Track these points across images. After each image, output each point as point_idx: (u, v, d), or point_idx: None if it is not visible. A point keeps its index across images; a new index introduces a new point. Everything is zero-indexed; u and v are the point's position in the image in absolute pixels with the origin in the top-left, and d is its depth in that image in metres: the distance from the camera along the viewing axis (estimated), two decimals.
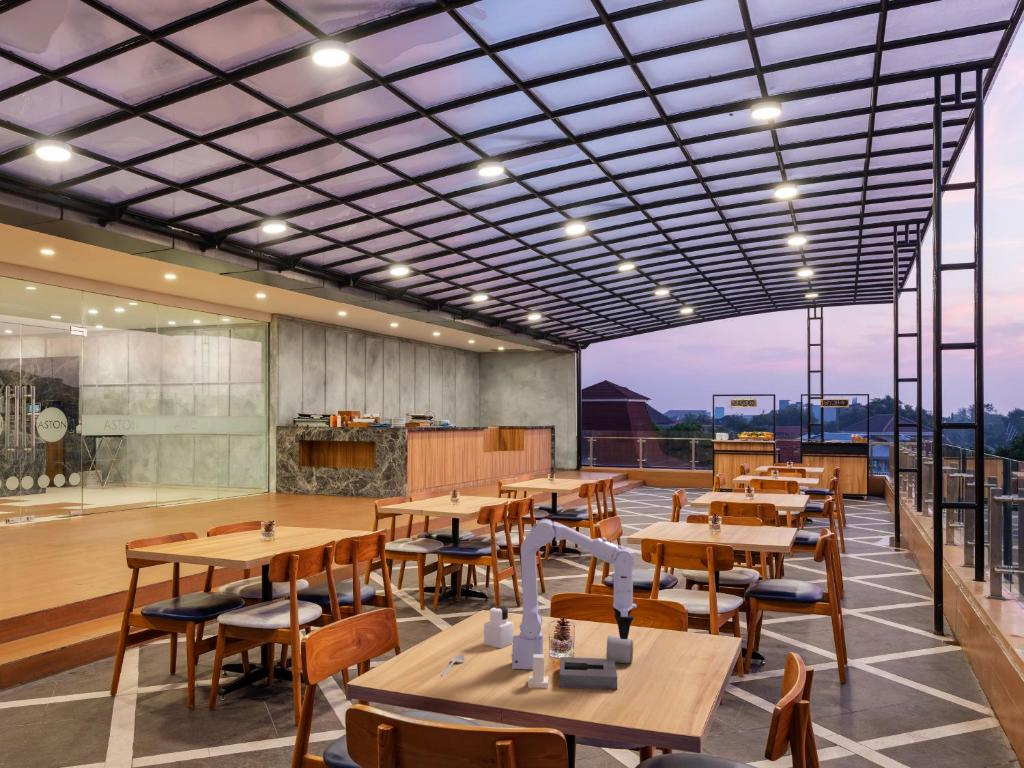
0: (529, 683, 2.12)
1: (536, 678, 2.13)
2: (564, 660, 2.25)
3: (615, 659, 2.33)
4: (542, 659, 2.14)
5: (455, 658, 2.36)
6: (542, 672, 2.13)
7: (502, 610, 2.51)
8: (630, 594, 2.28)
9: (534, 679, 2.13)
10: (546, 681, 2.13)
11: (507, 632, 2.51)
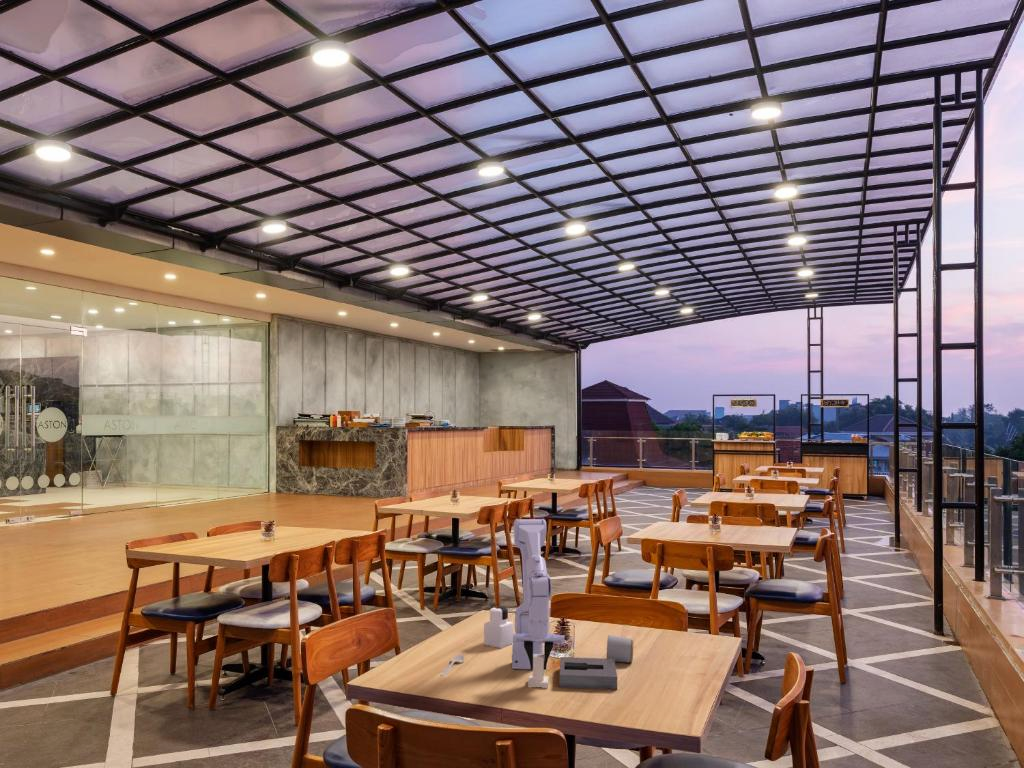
0: (529, 683, 2.12)
1: (536, 678, 2.13)
2: (564, 660, 2.25)
3: (615, 658, 2.33)
4: (542, 659, 2.14)
5: (455, 658, 2.36)
6: (542, 672, 2.13)
7: (502, 610, 2.51)
8: (531, 624, 2.14)
9: (534, 679, 2.13)
10: (546, 681, 2.13)
11: (507, 632, 2.51)
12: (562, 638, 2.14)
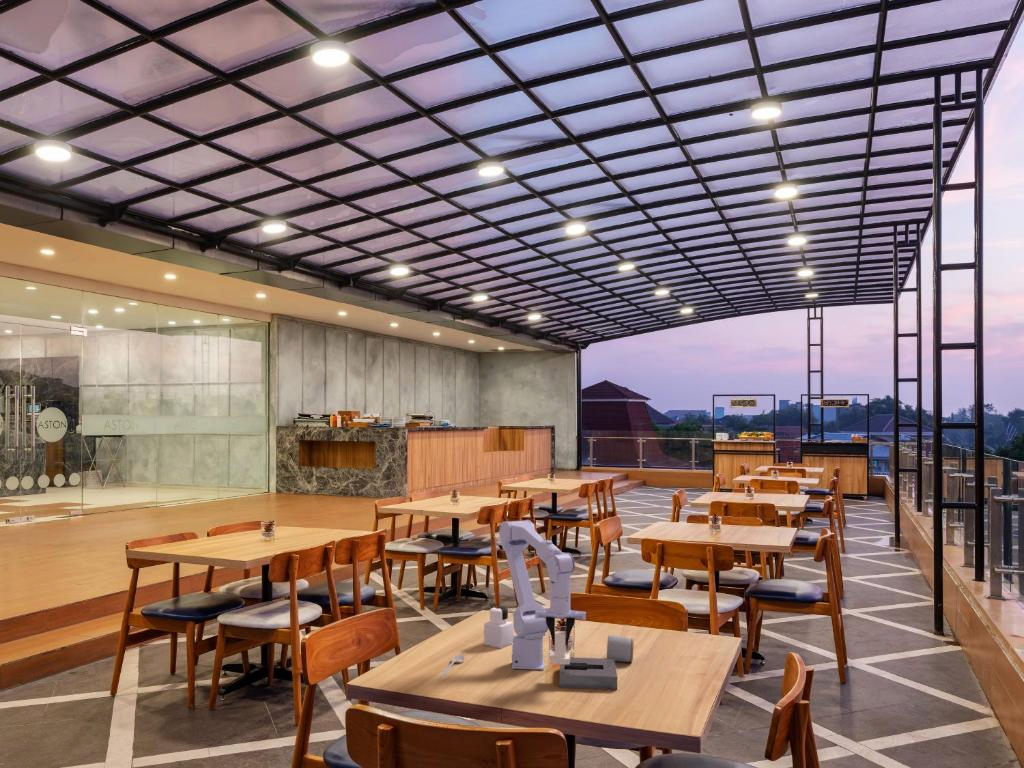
0: (551, 659, 2.15)
1: (558, 654, 2.16)
2: None
3: (615, 658, 2.34)
4: (563, 636, 2.17)
5: (455, 658, 2.36)
6: (564, 648, 2.16)
7: (502, 610, 2.51)
8: (553, 601, 2.17)
9: (556, 655, 2.17)
10: (568, 657, 2.16)
11: (507, 632, 2.51)
12: (583, 614, 2.17)
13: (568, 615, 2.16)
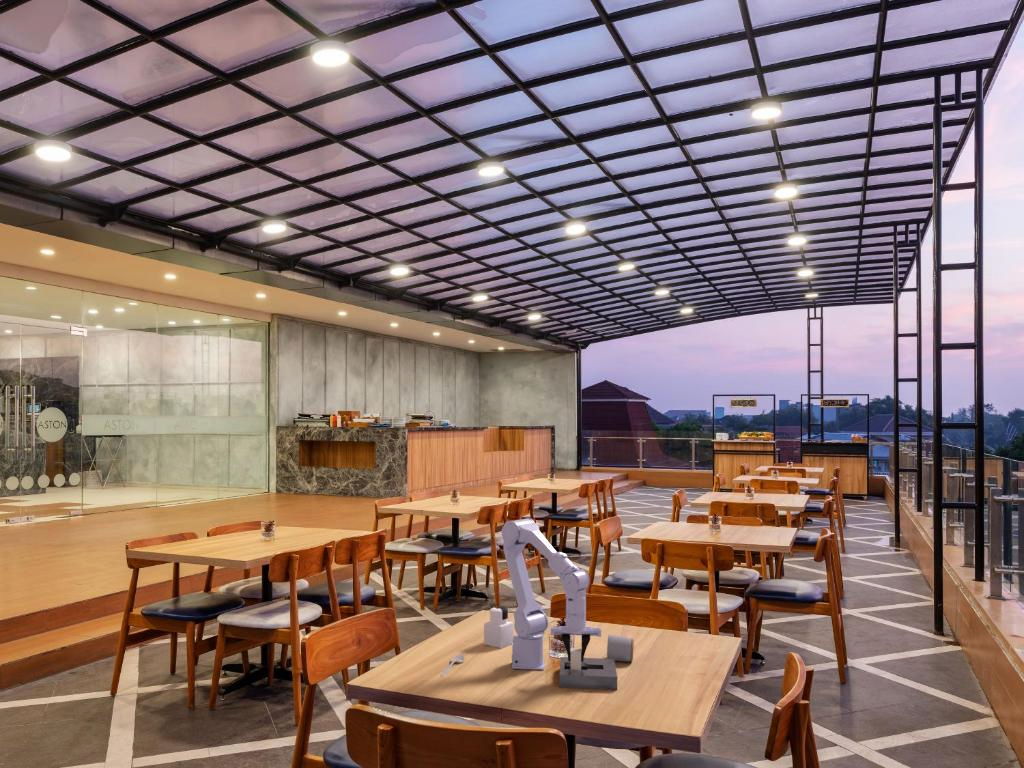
0: None
1: None
2: (564, 660, 2.25)
3: (616, 658, 2.34)
4: (579, 653, 2.19)
5: (455, 658, 2.36)
6: (579, 665, 2.18)
7: (502, 610, 2.51)
8: (569, 617, 2.19)
9: None
10: None
11: (507, 632, 2.51)
12: (599, 631, 2.19)
13: (584, 632, 2.18)
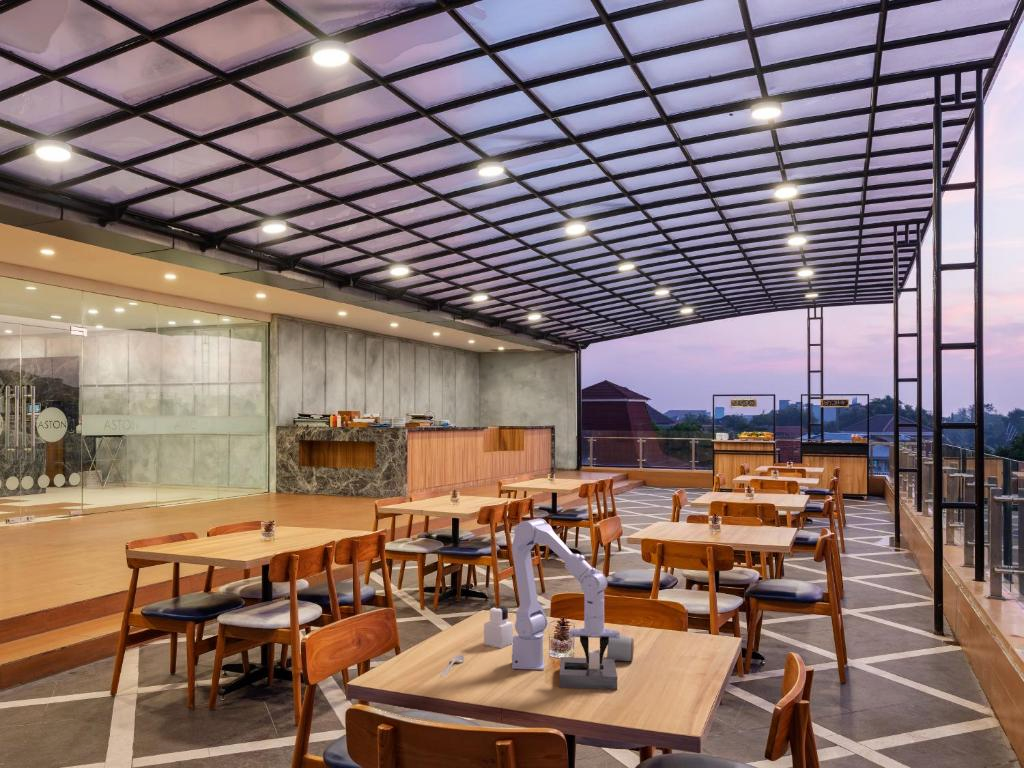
0: None
1: None
2: (564, 660, 2.25)
3: (616, 657, 2.35)
4: (598, 654, 2.18)
5: (455, 658, 2.36)
6: (598, 667, 2.18)
7: (502, 610, 2.51)
8: (587, 620, 2.18)
9: None
10: None
11: (507, 632, 2.51)
12: (617, 633, 2.19)
13: (602, 634, 2.18)
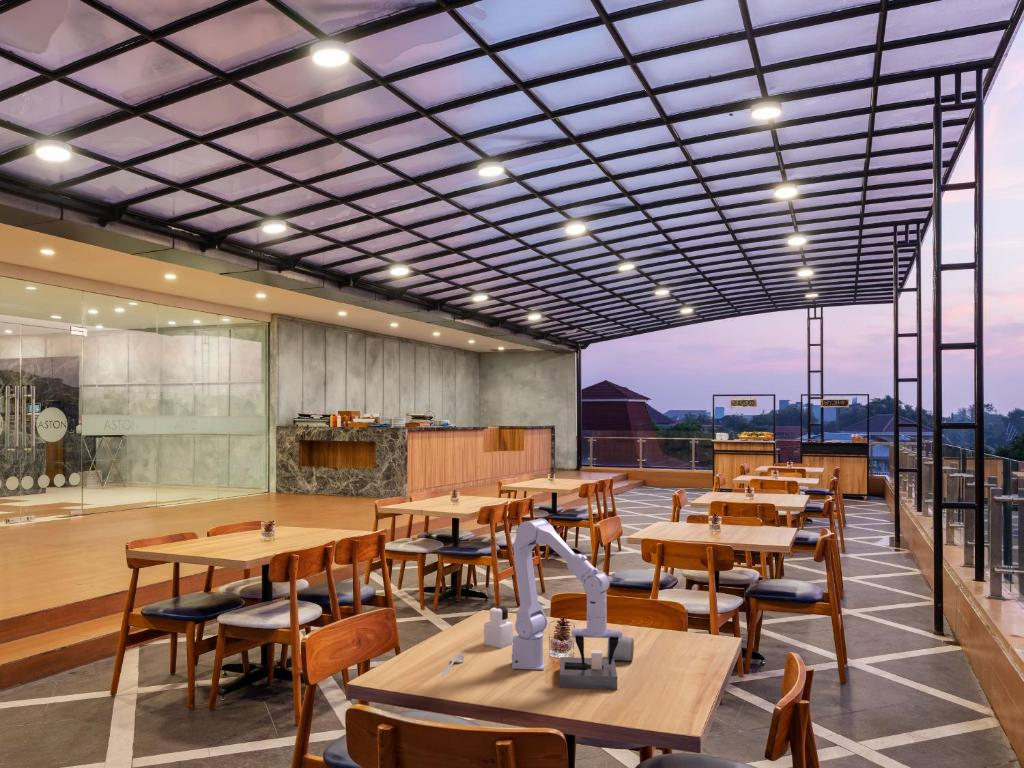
0: None
1: None
2: (564, 660, 2.25)
3: (616, 657, 2.35)
4: (600, 655, 2.18)
5: (455, 658, 2.36)
6: (600, 667, 2.18)
7: (502, 610, 2.51)
8: (590, 620, 2.18)
9: None
10: None
11: (507, 632, 2.51)
12: (620, 633, 2.19)
13: (605, 634, 2.17)
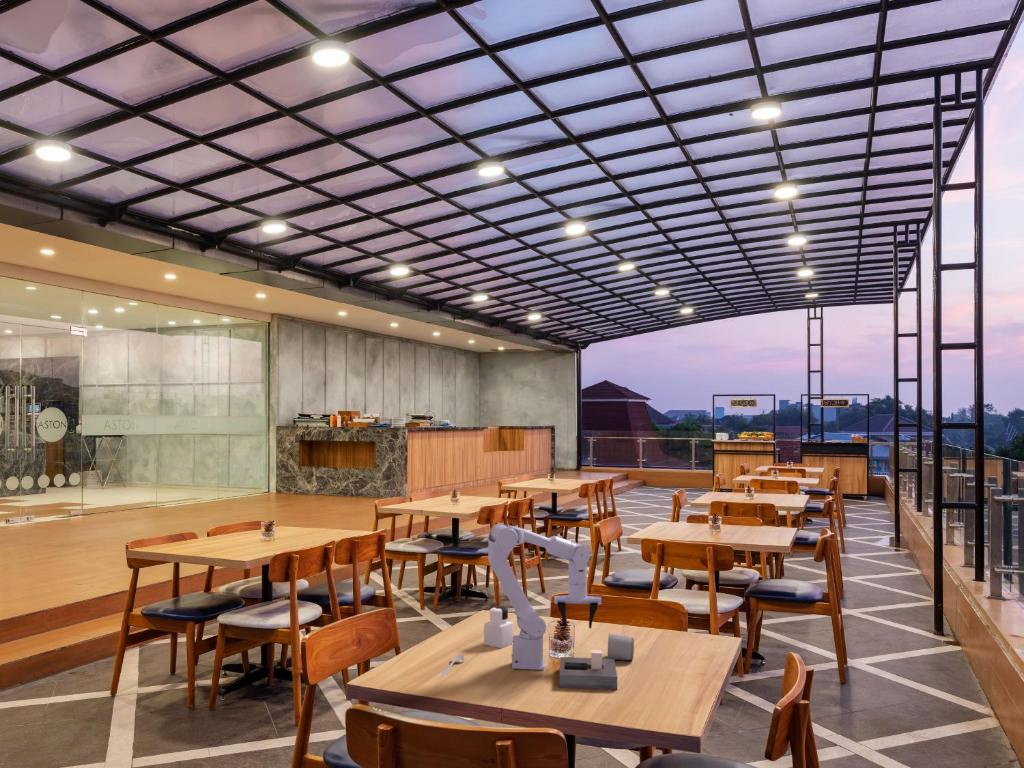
0: None
1: None
2: (564, 660, 2.25)
3: (616, 656, 2.36)
4: (600, 655, 2.18)
5: (455, 658, 2.36)
6: (600, 667, 2.18)
7: (502, 610, 2.51)
8: (571, 587, 2.35)
9: None
10: None
11: (507, 632, 2.51)
12: (599, 599, 2.35)
13: (585, 600, 2.34)
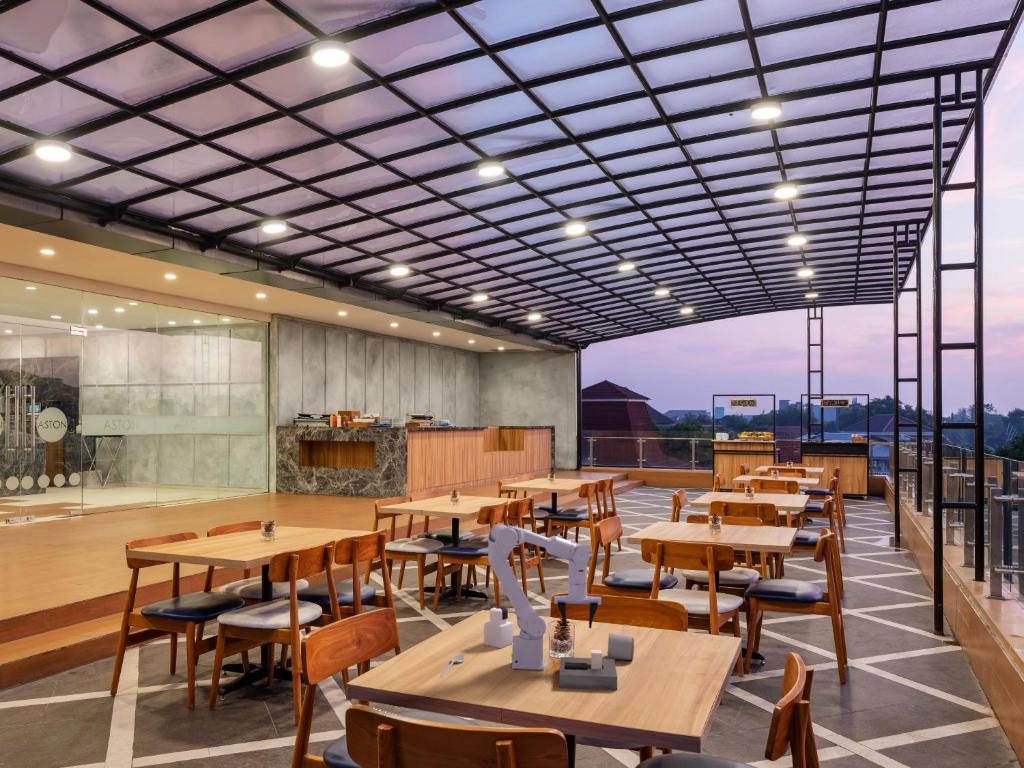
0: None
1: None
2: (564, 660, 2.25)
3: (616, 656, 2.36)
4: (600, 655, 2.18)
5: (455, 658, 2.36)
6: (600, 667, 2.18)
7: (502, 610, 2.51)
8: (571, 587, 2.35)
9: None
10: None
11: (507, 632, 2.51)
12: (599, 599, 2.35)
13: (585, 600, 2.34)
